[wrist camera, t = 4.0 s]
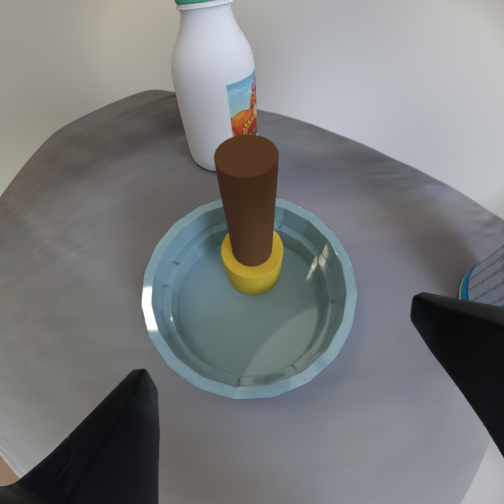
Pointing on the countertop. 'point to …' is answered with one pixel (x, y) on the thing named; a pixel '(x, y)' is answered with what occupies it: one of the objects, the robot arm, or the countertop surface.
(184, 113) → the milk bottle
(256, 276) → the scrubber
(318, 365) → the bowl
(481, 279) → the beverage bottle
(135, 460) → the robot arm
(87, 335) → the countertop surface
